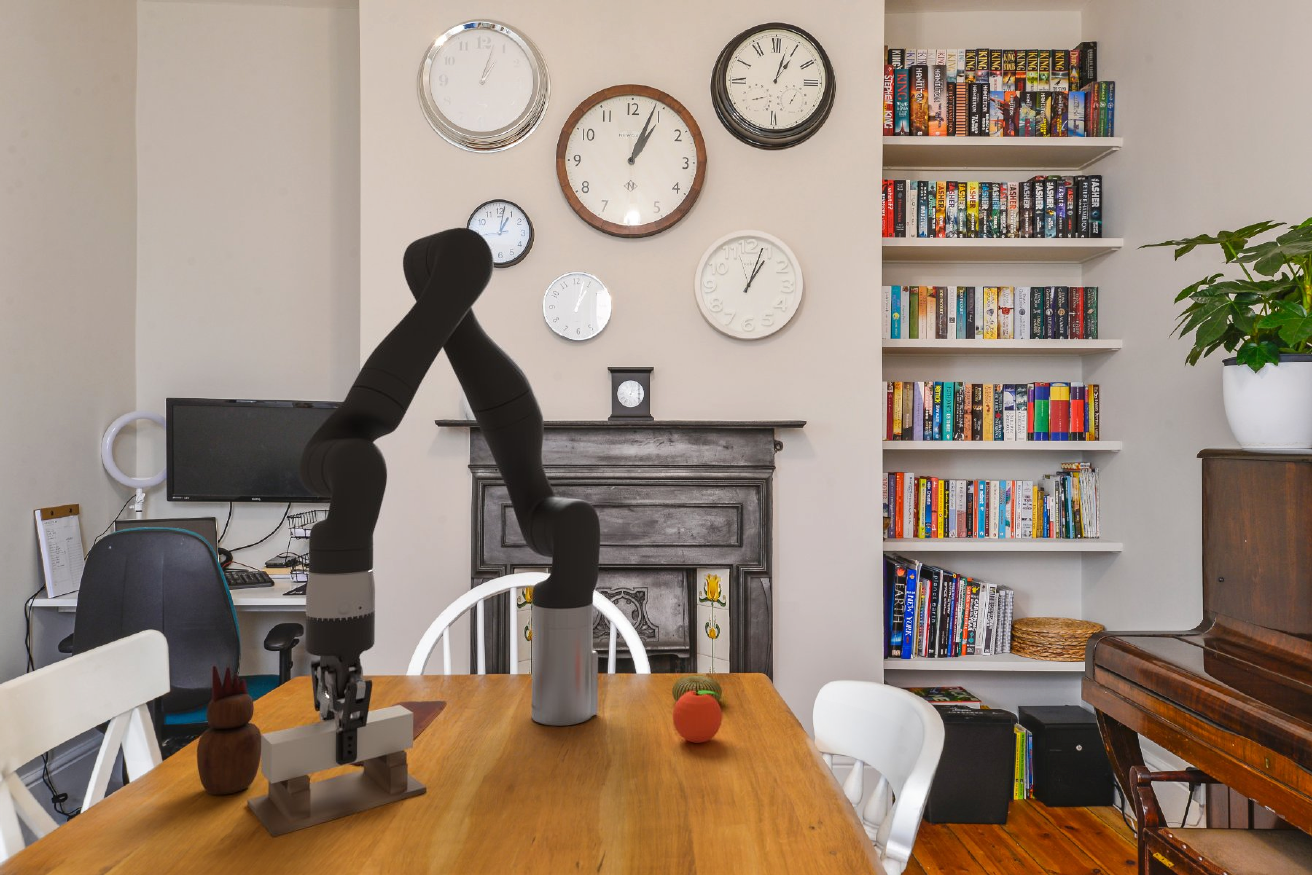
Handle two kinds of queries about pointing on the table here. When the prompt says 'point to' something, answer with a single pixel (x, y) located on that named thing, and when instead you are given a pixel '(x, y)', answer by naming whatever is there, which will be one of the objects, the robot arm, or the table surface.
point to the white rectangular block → (333, 744)
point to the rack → (334, 794)
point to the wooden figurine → (229, 738)
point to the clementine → (697, 716)
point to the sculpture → (696, 686)
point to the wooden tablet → (419, 716)
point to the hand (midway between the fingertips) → (339, 755)
